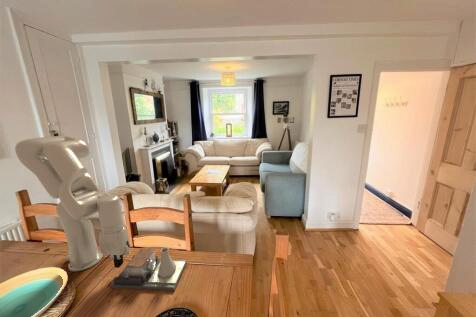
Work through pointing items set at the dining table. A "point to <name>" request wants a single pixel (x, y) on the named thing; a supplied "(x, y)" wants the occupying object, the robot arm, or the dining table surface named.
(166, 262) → the flask
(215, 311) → the dining table surface
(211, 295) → the dining table surface
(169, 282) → the press base
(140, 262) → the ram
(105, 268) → the dining table surface
